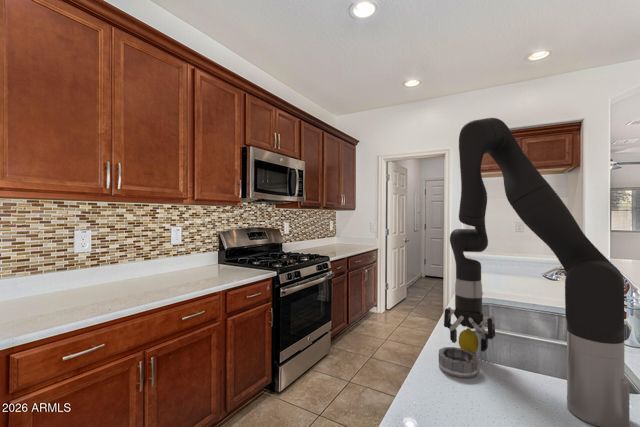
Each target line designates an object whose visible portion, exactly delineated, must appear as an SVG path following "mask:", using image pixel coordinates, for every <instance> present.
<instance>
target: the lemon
mask: <svg viewBox="0 0 640 427" xmlns="http://www.w3.org/2000/svg"><path fill="white" fill-rule="evenodd" d="M479 343H480V342H479V338H478V336H477V334H476V333H475V332H474V331H473V330H471V328H466V329H463V330H462V331H461V332H460V333H459V335H458V346H459V347H460V348H461V349H465V350H467V351H470V352H472V353H473V354H475V353H476V352H477V351H478V348H479Z"/></svg>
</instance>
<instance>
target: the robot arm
mask: <svg viewBox="0 0 640 427" xmlns="http://www.w3.org/2000/svg"><path fill="white" fill-rule="evenodd" d="M458 152H459V153H458V154H459V168H460V169H459V170H460V185H461V186H460V189H461V190H460V191H461V192H460V200H459V210H458V220H459V222H460V223H462V224H463V225H467V226H470V227H474V228H473V229H472V228H456V229H454V230H452V232H451V233H450V236H449V243H450V246H451V249H452V253H453V257H454V261H455V284H454V285H455V286H454V309H452V308H451V307H450V306H449V307H447V308H445V309H444V313H443V314H444V317H443V318H444V320H443V326H444V327H445V328H448V330H449V339H450V341H451V343H452V344H453V343H454V344H455V343H457V341H458V340H457V338H458V336H457V334H458V331H457V329H458V327H459V326H460V325H461V327H465V328H468V329H474V330H475V331H476V333H477V334H479V335H480V337H481V338H480V351H481V352H485V351H487V350H488V348H489V340H493V339H494V338H495V336H496V326H495V323H496V322H495V317H494V316H484V314H483V295H484V293H483V284H482V264H481V262H480V261H479V260H477V259H472V258H468V257H466V256H465V254H464V252H465V253H481V252H484V251H485V250H487V248H488V244H489V238H488V234H487V229H486V228H487V227H486V213H487V212H486V211H487V206H488V205H487V204H488V193H487V188H486V186H485V184H484V180H483V178H482V163H483V159H484V154H488V155H489V156H490V157H491V158H492V159H493V161H494V162H495V163H496V164H497V166H498V167H499V170H500V171H501V174H502V179H503V188H504V193H505V196H506V199H507V201H508V204H510V206H511V208H512V209H513V210H514V212H515V213H516V214H517V216H518V217H519V219H520V220H521V221H522V222H523V224H525V226H526V227H527V228H529V230H530V231H532V232H533V233H534V234H535V235H536V237H538V238H539V239H540V240H541V241H542V242H544V244H545V245H546V246H548V248H549V249H550V250H551V251H552V252H553V254H554V255H555V257H556V259H557V260H558V261H559V263H560V265H561V266H562V268H563V269H564V271H565V273H566V276H565V280H564V305H565V306H564V307H565V310H564V311H565V313H564V315H565V320H566V384H567V385H566V392H567V393H566V407H567V409H568V410H569V412H570V413H571V414H573V415H574V416H576V417H577V418H578V419H580V420H582V421H583V422H586V423H588V424H591V425H594V426H597V427H630V425H631V424H630V414H631V413H630V382H629V380H628V379H627V378H626V377H625V372H626V370H625V332H626V331H625V329H626V328H625V279H624V276H623V274H622V272H621V271H620V270H619V268H617V267H616V266H615V265H614V264H613V263H612V262H611V261H610V260H609V259H608V258H607V257H606V256H605V255H604V254H603V253H602V252H601V251H600V250H599V248H597V247H596V246H595V245H594V244H593V243H592V242H591V241H590V239H589V238H588V237H587V236H586V234H585V233H584V232H583V230H582V229H581V227H580V225H579V224H578V222H577V221H576V219H575V218H574V216H573V214H572V213H571V211H570V209H569V208H568V207H567V206H566V204H565V203H564V202H563V200H562V199H561V197H560V196H559V195H558V193H557V192H556V191H555V190H554V188H552V186H551V185H550V183H549V182H548V181H547V180H546V179H545V177H544V176H543V175H542V174H541V173H540V171H539V170H538V169H537V168H536V166H535V165H534V163H532V161H531V160H530V159H529V157H528V156H527V155H526V153H525V152H524V151H523V148H522V147H521V146H520V144H519V142H518V141H517V139H516V137H515V136H514V135H513V132H512V130H510V128H509V126H508V125H507V124H506V123H505V122H504V121H503V120H502V119H499V118H497V117H486V118H481V119H474V120H470V121H468V122H466V123H465V124H464V125H463V126H462V128H461V130H460V131H459V135H458ZM453 315H454V316H455V318H456V320H455V321H454V322H453V323H451V322H452V317H453ZM483 321H484V323H485V324H486V325H487V330H486V329H485V326H484V325H483V323H482V322H483Z"/></svg>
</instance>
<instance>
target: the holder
mask: <svg viewBox="0 0 640 427" xmlns="http://www.w3.org/2000/svg"><path fill="white" fill-rule="evenodd" d="M478 362H479V361H478V356H477V355H476V354H475V353H472V352H470V351H467V350H465V349H461V348H459V347H455V346H449V347H448V346H446V347H443V348H440V349H438V368H439V370H440V371H441V372H442V373H444V374H446V375H447V376H451V377H453V378H457V379H464V380H465V379H473V378H475V377H477V375H478Z"/></svg>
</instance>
